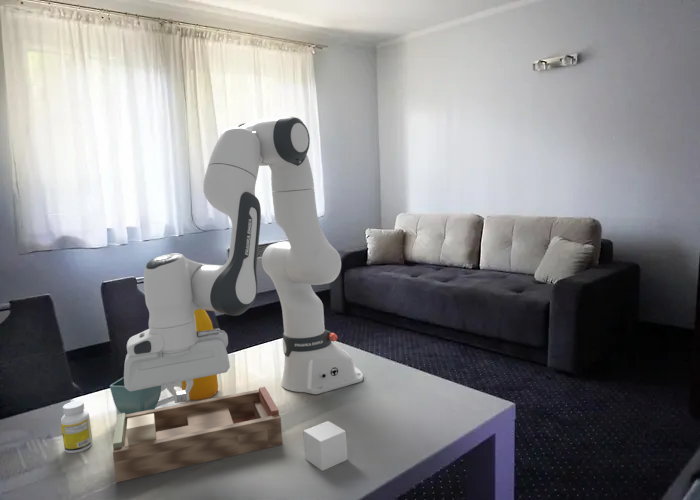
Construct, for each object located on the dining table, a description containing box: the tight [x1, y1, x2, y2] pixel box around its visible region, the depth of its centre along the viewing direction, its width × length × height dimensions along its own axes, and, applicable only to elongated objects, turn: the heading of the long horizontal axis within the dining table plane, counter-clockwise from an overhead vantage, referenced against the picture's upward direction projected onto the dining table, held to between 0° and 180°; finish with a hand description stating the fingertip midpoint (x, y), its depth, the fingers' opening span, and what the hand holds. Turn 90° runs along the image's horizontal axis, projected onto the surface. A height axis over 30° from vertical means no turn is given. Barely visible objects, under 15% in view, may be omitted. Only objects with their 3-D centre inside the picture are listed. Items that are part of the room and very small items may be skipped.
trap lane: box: [112, 386, 283, 483], centre depth 109 cm, size 32×17×7 cm, turn 111°
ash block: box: [127, 413, 156, 446], centre depth 101 cm, size 5×5×5 cm
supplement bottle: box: [60, 400, 93, 454], centre depth 109 cm, size 5×5×10 cm
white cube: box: [303, 420, 348, 472], centre depth 100 cm, size 6×6×6 cm
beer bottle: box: [181, 309, 219, 401], centre depth 134 cm, size 9×9×29 cm
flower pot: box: [109, 376, 162, 414], centre depth 125 cm, size 9×9×9 cm
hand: (182, 400), depth 104 cm, fingers closed
